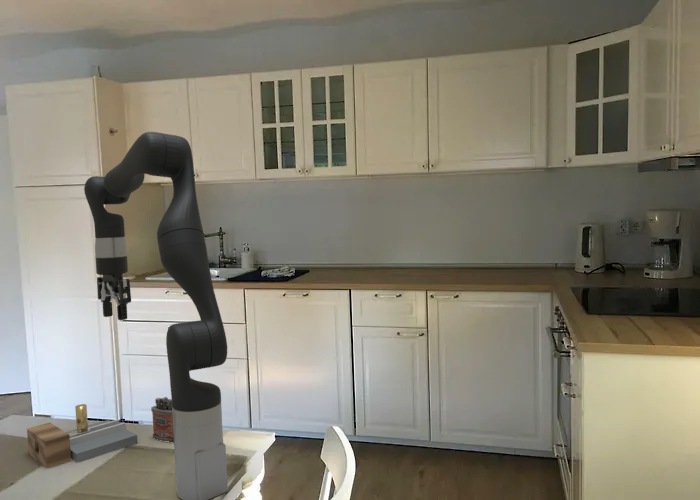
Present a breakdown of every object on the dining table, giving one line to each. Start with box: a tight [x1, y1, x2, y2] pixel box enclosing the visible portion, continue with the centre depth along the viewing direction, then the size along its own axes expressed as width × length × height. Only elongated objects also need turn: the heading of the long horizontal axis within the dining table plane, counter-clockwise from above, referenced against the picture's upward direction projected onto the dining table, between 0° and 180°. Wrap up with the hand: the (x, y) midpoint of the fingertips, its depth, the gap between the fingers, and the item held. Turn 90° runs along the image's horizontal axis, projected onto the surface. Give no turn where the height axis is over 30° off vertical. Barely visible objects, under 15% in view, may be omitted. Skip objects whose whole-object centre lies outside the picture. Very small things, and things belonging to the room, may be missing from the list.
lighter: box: [150, 396, 174, 443], centre depth 140 cm, size 8×3×10 cm, turn 62°
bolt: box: [69, 403, 91, 438], centre depth 134 cm, size 2×9×8 cm, turn 136°
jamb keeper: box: [26, 422, 72, 469], centre depth 131 cm, size 12×5×6 cm, turn 46°
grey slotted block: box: [65, 419, 139, 463], centre depth 139 cm, size 16×14×4 cm
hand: (115, 318), depth 149 cm, fingers open, 8 cm apart
